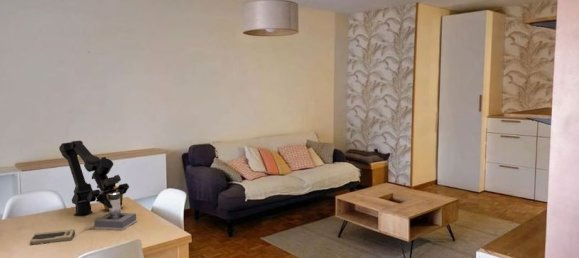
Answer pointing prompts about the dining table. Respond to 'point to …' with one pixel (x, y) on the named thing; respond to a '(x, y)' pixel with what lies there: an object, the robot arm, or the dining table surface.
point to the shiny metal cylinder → (114, 205)
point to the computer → (52, 236)
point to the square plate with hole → (115, 221)
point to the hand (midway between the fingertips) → (116, 206)
